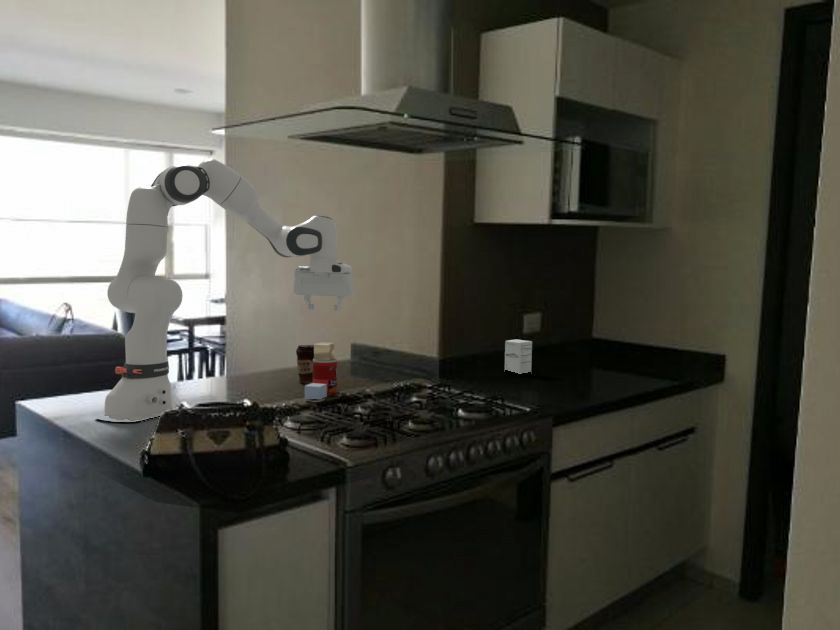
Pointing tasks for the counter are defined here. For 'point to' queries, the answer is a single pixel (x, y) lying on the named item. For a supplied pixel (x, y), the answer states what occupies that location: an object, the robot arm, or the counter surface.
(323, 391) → the slate block
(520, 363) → the supplement box
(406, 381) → the counter surface
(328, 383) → the canned food
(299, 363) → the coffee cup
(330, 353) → the maple block
